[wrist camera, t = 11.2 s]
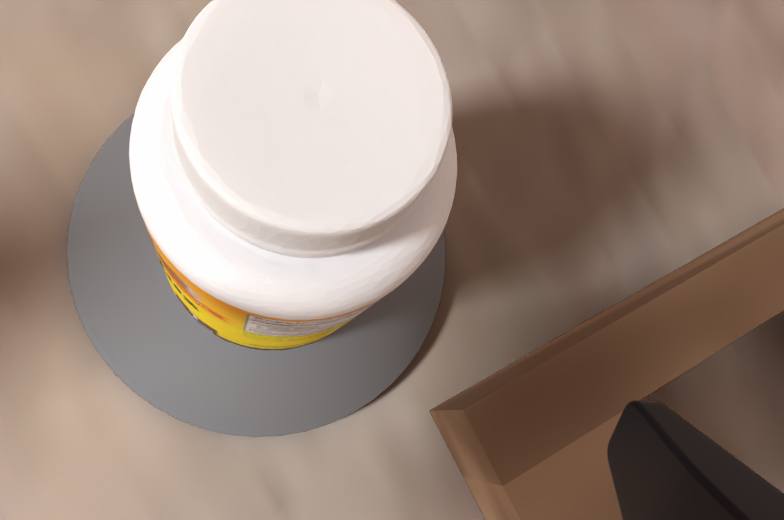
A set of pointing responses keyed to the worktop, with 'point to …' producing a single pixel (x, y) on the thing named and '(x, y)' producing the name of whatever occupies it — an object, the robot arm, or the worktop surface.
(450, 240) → the worktop surface
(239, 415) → the rubber mat
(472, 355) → the worktop surface
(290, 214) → the supplement bottle
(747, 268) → the puzzle board
